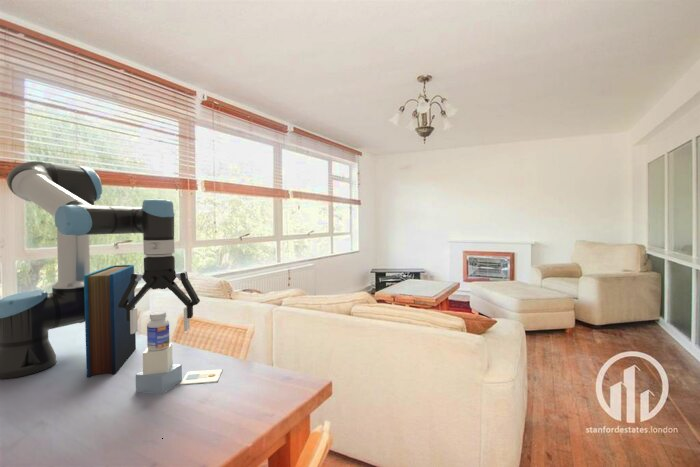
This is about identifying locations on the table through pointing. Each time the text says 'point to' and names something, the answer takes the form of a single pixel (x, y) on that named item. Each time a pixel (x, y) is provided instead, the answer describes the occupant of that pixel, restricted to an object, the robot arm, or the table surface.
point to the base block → (159, 380)
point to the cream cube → (157, 360)
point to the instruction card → (201, 377)
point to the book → (107, 320)
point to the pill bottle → (158, 331)
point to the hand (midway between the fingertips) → (160, 331)
